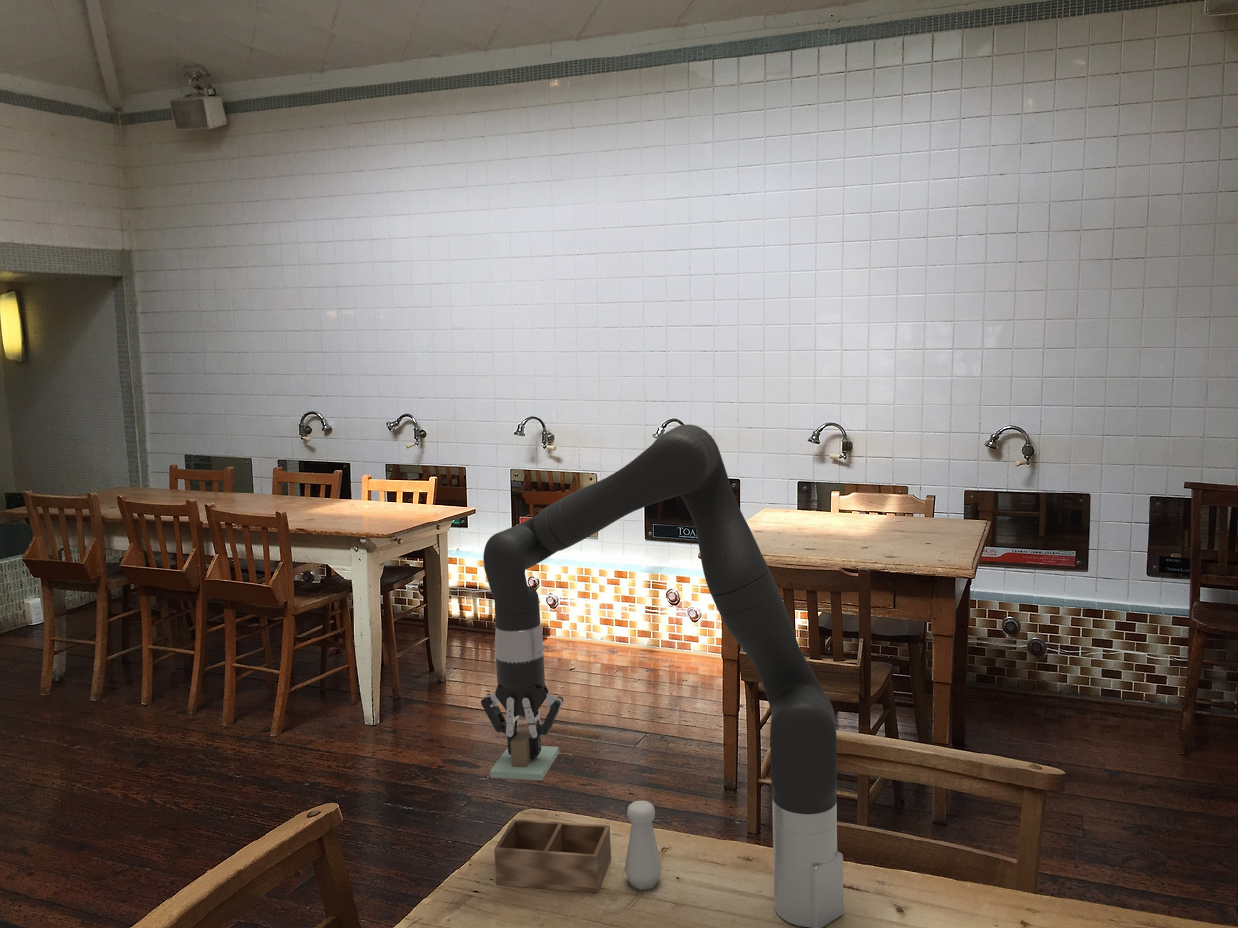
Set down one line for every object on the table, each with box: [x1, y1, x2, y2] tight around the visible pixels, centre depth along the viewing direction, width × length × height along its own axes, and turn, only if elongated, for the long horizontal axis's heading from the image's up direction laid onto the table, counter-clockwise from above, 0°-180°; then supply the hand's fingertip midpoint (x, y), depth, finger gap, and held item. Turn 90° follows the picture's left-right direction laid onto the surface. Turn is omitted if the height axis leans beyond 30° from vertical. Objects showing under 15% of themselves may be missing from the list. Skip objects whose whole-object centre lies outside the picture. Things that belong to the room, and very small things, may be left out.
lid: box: [489, 726, 560, 781], centre depth 150 cm, size 8×10×5 cm
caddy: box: [493, 818, 612, 894], centre depth 151 cm, size 17×10×6 cm, turn 78°
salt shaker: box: [624, 800, 663, 891], centre depth 147 cm, size 6×6×13 cm
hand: (525, 756), depth 150 cm, fingers closed on lid, 2 cm apart
